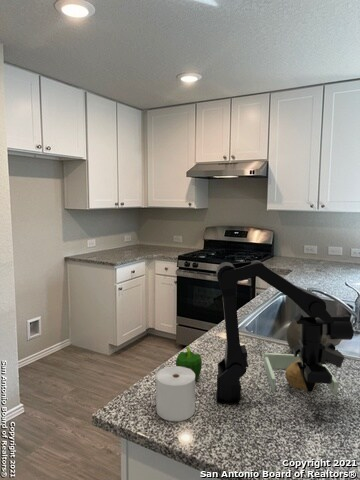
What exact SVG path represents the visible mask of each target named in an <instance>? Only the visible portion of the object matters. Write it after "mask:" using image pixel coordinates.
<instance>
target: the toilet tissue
mask: <svg viewBox="0 0 360 480" xmlns="http://www.w3.org/2000/svg"><path fill="white" fill-rule="evenodd" d="M155 380H156V381H155V382H156V383H155V389H156V390H155V393H156V395H155V396H156V397H155V398H156V403H155V407H156V408H155V409H156V413H157V415H158V416H159V417H160V418H161V419H164V420H165V421H169V422H182V421H183V422H184V421H186V420H188V419H190V418H191V417H193V415H194V414H195V411H196V381H195V373H194V372H193V371H192V370H191V369H189V368H185V367H180V366H176V365H175V366H172V365H171V366H167V367H165V363H164V362H163V363H162V364H161V365H160V366H159V367H158V369H157V371H156V378H155Z"/></svg>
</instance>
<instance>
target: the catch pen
mask: <svg viewBox="0 0 360 480" xmlns="http://www.w3.org/2000/svg"><path fill="white" fill-rule="evenodd" d="M298 360H300V358H299V355H297V357H294V355H293V353H271V352H264V361H263V362H264V363H263V364H264V365H263V367H264V370H265V373H266V377H267V380H268V383H269V386H270V387H269V388H270V390H271V392H273V393H275V392H276V386H277V385H276V382H277V381H276V376H275V374H274V371H273V369H275V370H278V369H279V370H286V369H287V367H289V366H290V365H291V364H292V363H294V362H296V361H298ZM319 364H321V363H319ZM321 365H322V366H325V367H326V368H327V369H328V370H329V372H330V373H331V375H332V383H331V384H326V385H327V388H328V389H330V392H331V393H332V395H333V396H338V392H339V391H338V389H339V382H338V380H337V379H336V377H335V376H334V374H333V373H332V372H331V370H330V369H329V368H328V366H327V365H326V364H321Z"/></svg>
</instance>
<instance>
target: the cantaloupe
mask: <svg viewBox="0 0 360 480" xmlns="http://www.w3.org/2000/svg"><path fill="white" fill-rule="evenodd" d="M315 319H317V318H315ZM299 338H301V324H297V323H296V322H295V321H294V319H293V320H292V321H291V322H290V323H289V325H288V326H287V330H286V341H287V344H288V347H289V348H290V350H291V352H292V353H293V347H294V346H296V345H301V344H300V343H299ZM327 341H328V337H327V336H326V335H324V333H323V338H322V343H323V344H324V345H326V344H327V343H328V342H327ZM297 355H299V354H297Z"/></svg>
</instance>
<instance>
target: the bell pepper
mask: <svg viewBox="0 0 360 480" xmlns="http://www.w3.org/2000/svg"><path fill="white" fill-rule="evenodd" d="M185 349H186V352H185V351H184V352H183V351H181V352H179V354H178V355H177V357H176V359H175V366H180V367H185V368H189V369H191V370H192V371H193V372H194V373H195V382H196V381H197V380H198V379H199V378H200V375H201V371H202V366H203V364H202V363H203V362H202V357H201V354H199V353H195V352H193V351H191V348H190V346H186V347H185Z"/></svg>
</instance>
